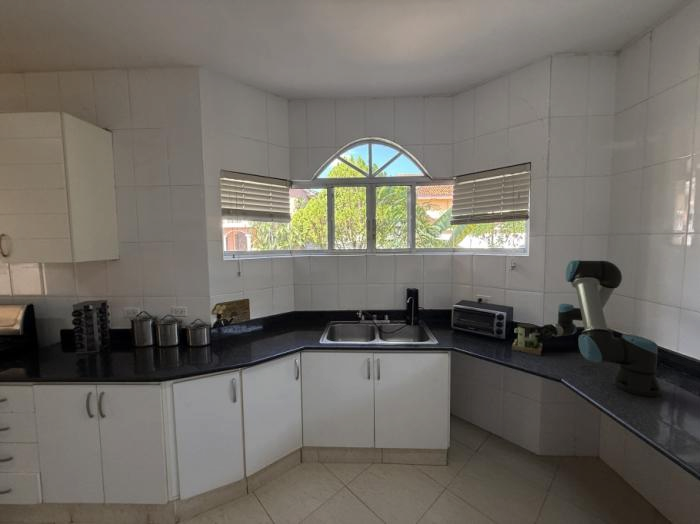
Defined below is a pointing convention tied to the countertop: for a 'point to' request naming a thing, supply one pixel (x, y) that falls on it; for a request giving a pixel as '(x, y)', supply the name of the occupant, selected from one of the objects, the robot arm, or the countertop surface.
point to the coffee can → (527, 335)
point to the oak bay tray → (527, 350)
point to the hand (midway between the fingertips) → (522, 333)
